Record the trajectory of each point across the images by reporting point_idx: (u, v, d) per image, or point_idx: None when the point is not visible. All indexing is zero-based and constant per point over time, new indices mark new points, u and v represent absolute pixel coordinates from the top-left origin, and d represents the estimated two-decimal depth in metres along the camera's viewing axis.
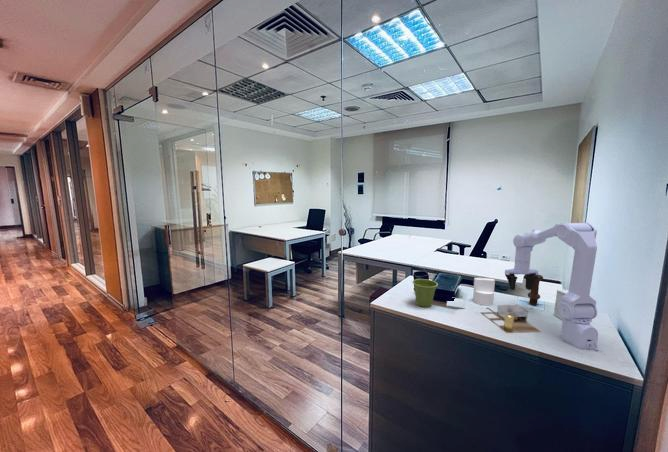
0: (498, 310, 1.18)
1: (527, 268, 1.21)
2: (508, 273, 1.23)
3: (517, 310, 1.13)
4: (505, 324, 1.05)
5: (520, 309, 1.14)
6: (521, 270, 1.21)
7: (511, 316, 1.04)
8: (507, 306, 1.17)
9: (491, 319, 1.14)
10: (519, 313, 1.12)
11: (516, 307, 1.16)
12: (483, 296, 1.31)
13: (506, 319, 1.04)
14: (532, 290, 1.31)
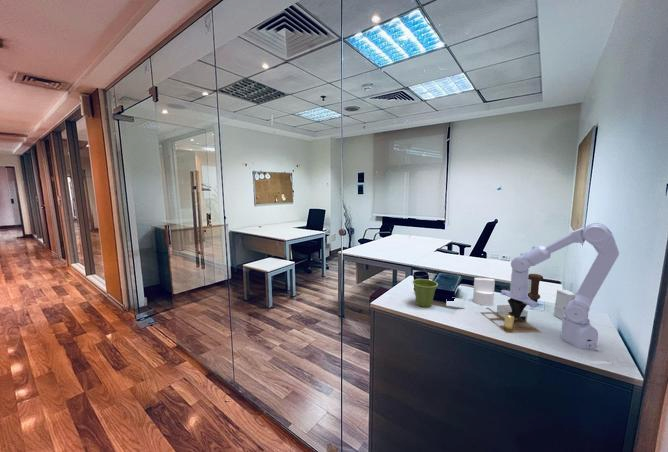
0: (498, 310, 1.18)
1: (514, 293, 1.08)
2: (501, 293, 1.16)
3: None
4: (505, 324, 1.05)
5: None
6: (510, 293, 1.10)
7: (511, 316, 1.04)
8: (507, 306, 1.17)
9: (491, 319, 1.14)
10: None
11: None
12: (483, 296, 1.31)
13: (506, 319, 1.04)
14: (532, 290, 1.31)
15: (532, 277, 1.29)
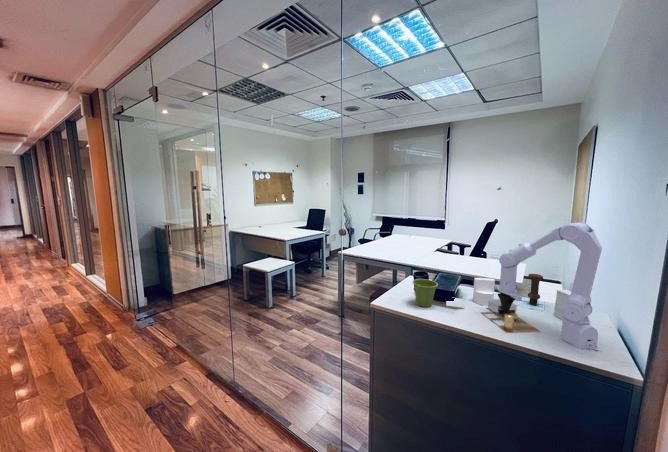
0: (489, 304, 1.24)
1: (502, 287, 1.15)
2: (494, 287, 1.23)
3: None
4: (505, 324, 1.05)
5: None
6: (499, 287, 1.17)
7: (511, 316, 1.04)
8: (497, 300, 1.23)
9: (491, 319, 1.14)
10: None
11: None
12: (483, 296, 1.31)
13: (506, 319, 1.04)
14: (532, 290, 1.31)
15: (532, 277, 1.29)
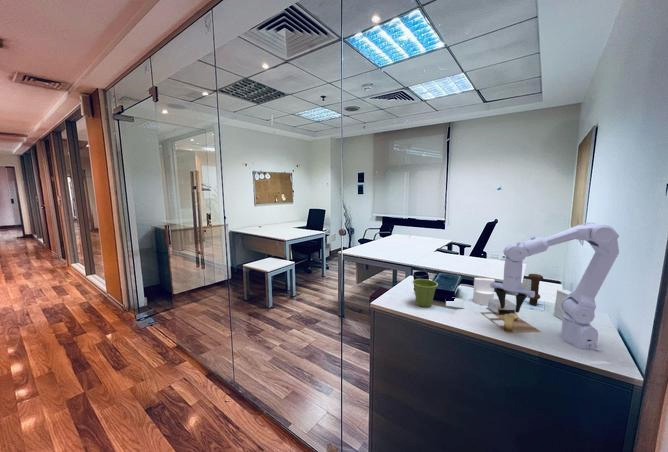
0: (489, 304, 1.24)
1: (510, 284, 1.01)
2: (491, 285, 1.08)
3: (506, 304, 1.19)
4: (505, 324, 1.05)
5: (509, 303, 1.20)
6: (504, 285, 1.03)
7: (511, 316, 1.04)
8: (497, 300, 1.23)
9: (491, 319, 1.14)
10: (508, 306, 1.18)
11: (506, 301, 1.22)
12: (483, 296, 1.31)
13: (506, 319, 1.04)
14: (532, 290, 1.31)
15: (532, 277, 1.29)
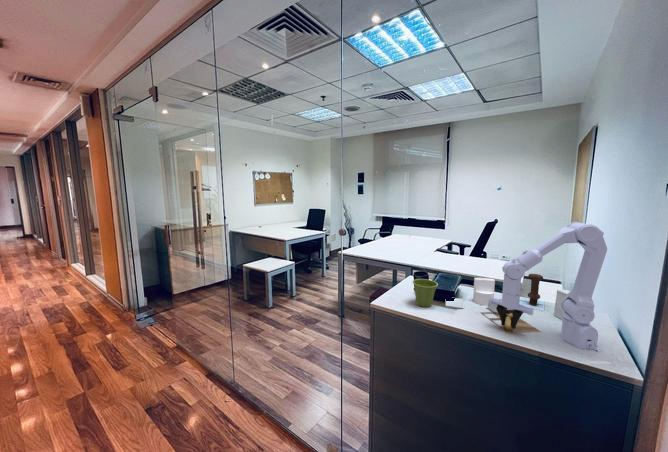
0: (489, 304, 1.24)
1: (509, 302, 1.02)
2: (490, 301, 1.09)
3: None
4: (505, 324, 1.05)
5: None
6: (503, 302, 1.04)
7: (511, 316, 1.04)
8: None
9: (491, 319, 1.14)
10: None
11: None
12: (483, 296, 1.31)
13: (506, 319, 1.04)
14: (532, 290, 1.31)
15: (532, 277, 1.29)
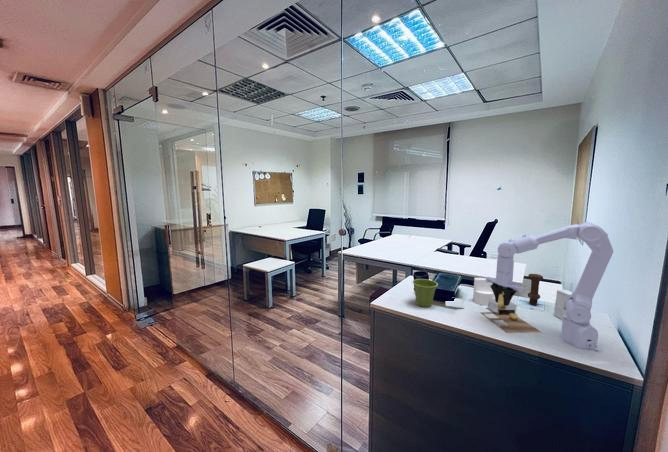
0: (489, 304, 1.24)
1: (501, 279, 1.07)
2: (486, 280, 1.15)
3: None
4: (498, 302, 1.10)
5: (509, 303, 1.20)
6: (496, 280, 1.10)
7: None
8: None
9: (491, 319, 1.14)
10: (508, 306, 1.18)
11: None
12: (483, 296, 1.31)
13: (499, 297, 1.10)
14: (532, 290, 1.31)
15: (532, 277, 1.29)
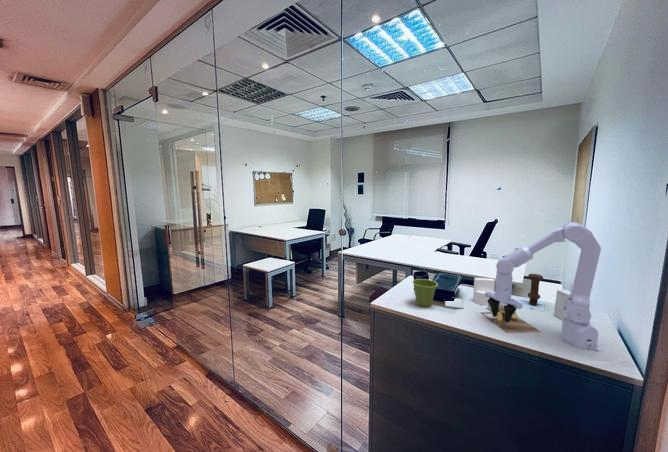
0: None
1: (499, 295, 1.08)
2: (485, 295, 1.16)
3: (506, 304, 1.19)
4: None
5: None
6: (495, 295, 1.11)
7: (502, 312, 1.10)
8: None
9: (491, 319, 1.14)
10: None
11: None
12: (483, 296, 1.31)
13: (497, 314, 1.10)
14: (532, 290, 1.31)
15: (532, 277, 1.29)
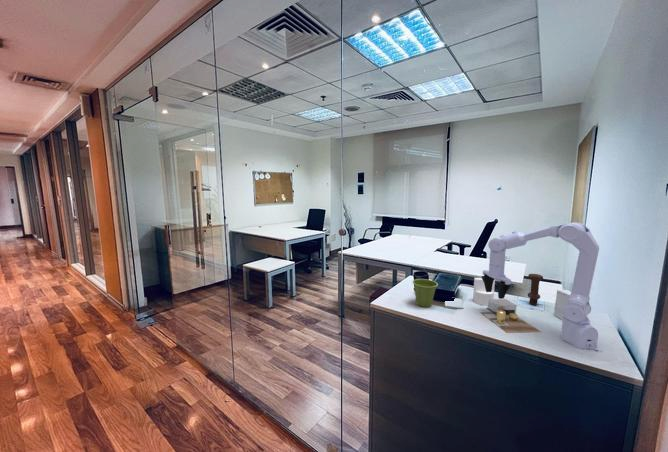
0: (489, 304, 1.24)
1: (491, 271, 1.16)
2: (483, 273, 1.24)
3: (506, 304, 1.19)
4: None
5: (509, 303, 1.20)
6: (488, 272, 1.18)
7: (502, 312, 1.10)
8: (497, 300, 1.23)
9: (491, 319, 1.14)
10: (508, 306, 1.18)
11: (506, 301, 1.22)
12: (483, 296, 1.31)
13: (498, 314, 1.10)
14: (532, 290, 1.31)
15: (532, 277, 1.29)
